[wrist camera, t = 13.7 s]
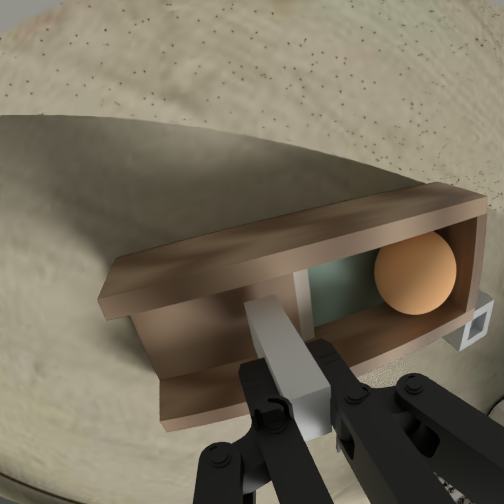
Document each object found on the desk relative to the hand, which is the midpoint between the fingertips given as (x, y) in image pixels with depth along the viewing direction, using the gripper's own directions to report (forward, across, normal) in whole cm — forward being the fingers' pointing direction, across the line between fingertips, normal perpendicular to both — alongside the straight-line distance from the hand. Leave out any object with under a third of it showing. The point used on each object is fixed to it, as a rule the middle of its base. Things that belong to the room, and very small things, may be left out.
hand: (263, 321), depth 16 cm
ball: (0, +9, 0) cm, 9 cm away
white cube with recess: (+3, +16, -7) cm, 18 cm away
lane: (+3, +4, 0) cm, 4 cm away
